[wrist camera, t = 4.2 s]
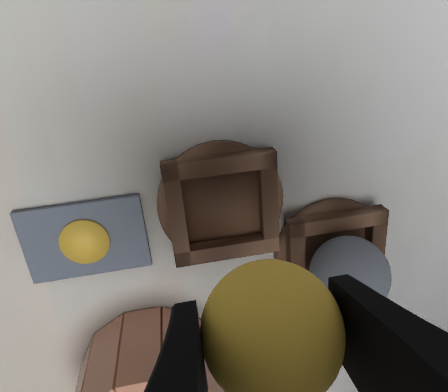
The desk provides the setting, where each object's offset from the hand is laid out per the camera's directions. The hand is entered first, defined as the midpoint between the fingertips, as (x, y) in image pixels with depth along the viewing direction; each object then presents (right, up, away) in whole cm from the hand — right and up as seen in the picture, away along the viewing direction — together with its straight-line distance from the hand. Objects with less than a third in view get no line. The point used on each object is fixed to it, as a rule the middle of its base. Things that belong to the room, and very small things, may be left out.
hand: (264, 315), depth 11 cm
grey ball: (+5, 0, +8) cm, 10 cm away
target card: (-8, +1, +8) cm, 11 cm away
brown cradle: (+5, +1, +10) cm, 11 cm away
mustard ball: (0, 0, -1) cm, 1 cm away
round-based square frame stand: (-1, +3, +8) cm, 9 cm away
